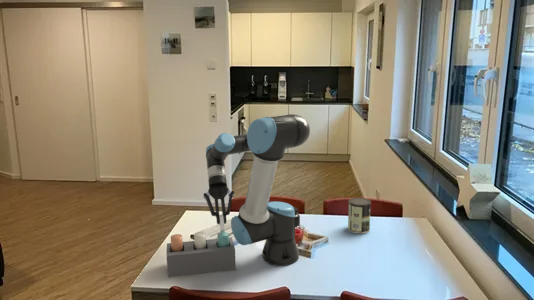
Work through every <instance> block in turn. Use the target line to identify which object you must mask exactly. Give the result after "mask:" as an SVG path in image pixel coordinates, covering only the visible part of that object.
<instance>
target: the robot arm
mask: <svg viewBox="0 0 534 300" xmlns="http://www.w3.org/2000/svg"><path fill="white" fill-rule="evenodd" d="M310 128H311V127H310V124H309V123H308V121H307V119H305V117H303V116H301V115H298V114H293V113H291V114H284V115H277V116H263V117H261V118H256V119H254V120H253V121H251V123H250V124H249V126H248V129H247V131H246V132H247V133H245V134H237V135H232V134H231V133H228V132H222V133H220V134H219V135H218V137H217V138H216V139H215V140H214V142H213V143H211V144H209V145H208V146H206V148H205V159H206V168H207V178H208V179H207V181H208V189H207V190H208V191H207V192H204V193H203V199H205V201H206V203H207V206H208V209H209V211H210V212H209V213H210V215H211V216H212V217H215V218H216V224H217V225H219V231H220V233H222V232H225V231H226V228H225V224H227V216H229V215H230V214H231V208H232V200H233V197H234V195H235V191H234V190H232V191H231V190H230V189H229V187H228V183H227V182H228V181H227V174H226V166H225V165H226V162H225V160H226V159H227V157H228V156H229V155H234V154H235V155H236V154H241V153H248V152H250V153H251V154H252V155H253V161H252V165H251V169H250V170H251V171H250V175H249V176H250V177H249V180H248V181H249V182H248V187H247V193H246V196H245V197H246V198H245V202H244V204H242V205H241V207H239V209H238V210H239V212H238V215H234V216H233V217H232V218H231V219H230V227H231V228H230V229H231V232H232V234H233V237H234V238H235V240H236V242H237V243H238V244H239V245H241V246H248V245H252V244H256V243H259V242H261V241H265V242H264V245H263V248H262V251H261V258H262V259H263V261H264V262H265V263H267V264H269V265H273V266H287V265H288V266H289V265H292V264H294V263H296V262H297V261H299V258H300V257H299V256H300V253H299V252H300V251H299V248H298V246H297V242H296V240H295V239H296V238H295V236H296V235H295V212H294V207H295V206H293V205H291V204H290V203H288V202H284V201H270V198H271V192H272V188H273V184H274V180H275V176H276V171H277V167H278V162H280V161H282V159H284V156H285V153H286V149H291V148H297V147H299V146H302V145H303V144H304V143H306V142H307V141H308V139H309V137H310V133H311V129H310ZM227 195H228V202H227V210H226V203H225V201H226V200H225V199H226V196H227ZM210 197H211V198H212V199H214V200H213V201H214V206H213V204H212V201H211V198H210ZM219 200H220V203H221V204H220V205H221V214H220V205H219ZM214 207H215V209H214Z"/></svg>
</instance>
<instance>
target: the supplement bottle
mask: <svg viewBox="0 0 534 300" xmlns="http://www.w3.org/2000/svg"><path fill="white" fill-rule="evenodd" d="M293 207H294V212H295V227H297V226H300V225H301V224H300V223H301V216H300V214H299V209H298V207H295V206H293ZM300 227H301V226H300Z"/></svg>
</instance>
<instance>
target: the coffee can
mask: <svg viewBox="0 0 534 300" xmlns="http://www.w3.org/2000/svg"><path fill="white" fill-rule="evenodd" d="M371 205H372V201H371V200H370V199H368V198H365V197H353V198H350V199H348V215H347V216H348V217H347V218H348V219H347V220H348V221H347V223H348V224H347V230H348V231H349V232H351V233H354V234H366V233H369V232H370V231H371V228H370V227H371Z"/></svg>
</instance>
